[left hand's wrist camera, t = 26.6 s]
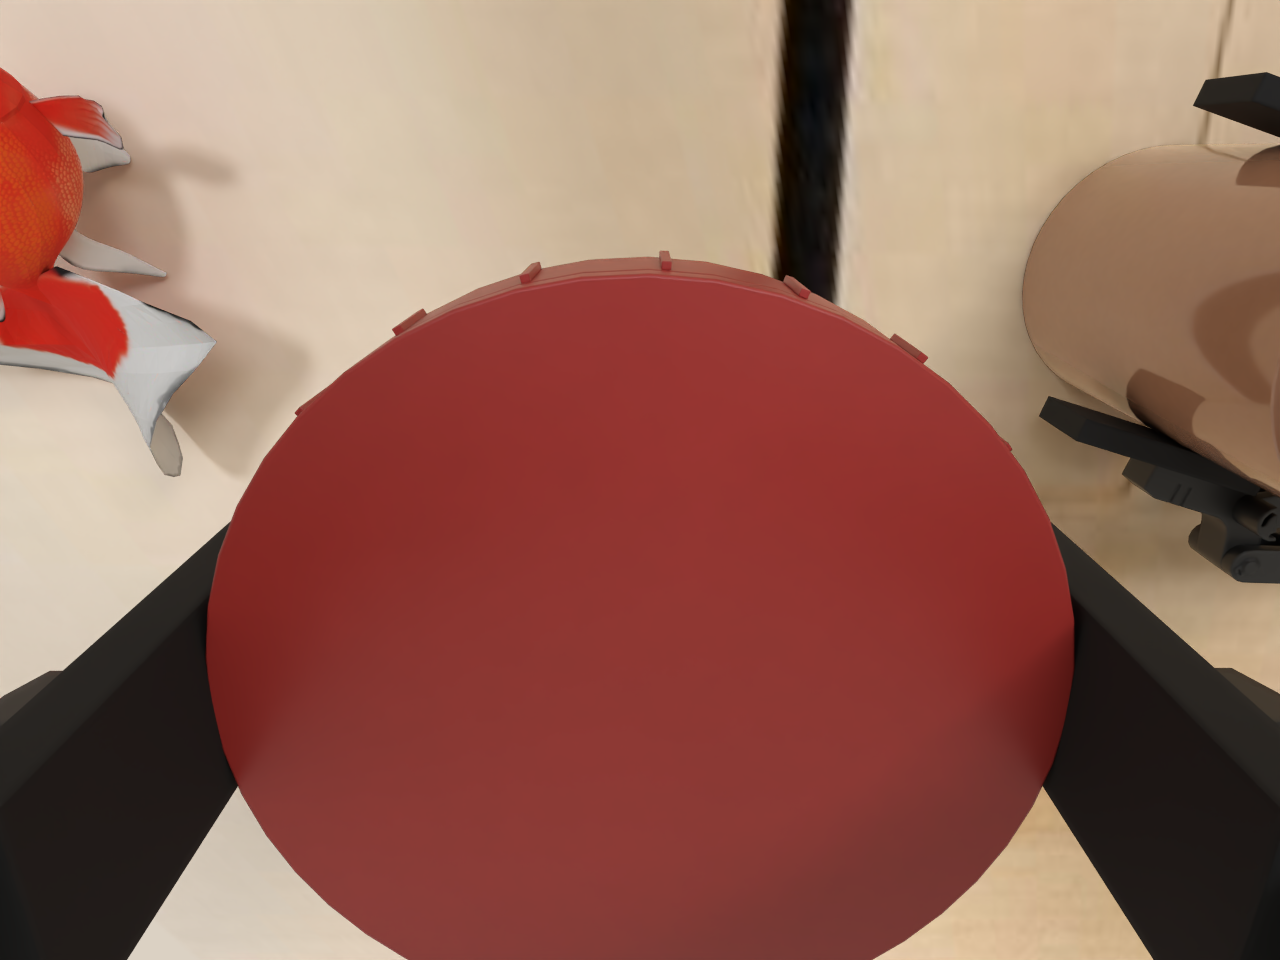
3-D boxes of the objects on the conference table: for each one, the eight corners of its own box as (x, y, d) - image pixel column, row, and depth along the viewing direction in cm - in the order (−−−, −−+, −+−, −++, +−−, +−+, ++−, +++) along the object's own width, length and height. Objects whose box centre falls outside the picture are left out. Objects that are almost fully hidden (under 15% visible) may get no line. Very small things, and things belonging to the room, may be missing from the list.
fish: (229, 13, 26) (-76, 149, 19) (339, 406, 37) (171, 576, 30) (-39, -43, 28) (-391, 61, 22) (141, 341, 39) (-54, 486, 33)
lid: (99, 440, 11) (14, 486, 10) (911, 107, 10) (961, 97, 8) (460, 997, 15) (439, 1095, 13) (1094, 811, 13) (1153, 897, 12)
